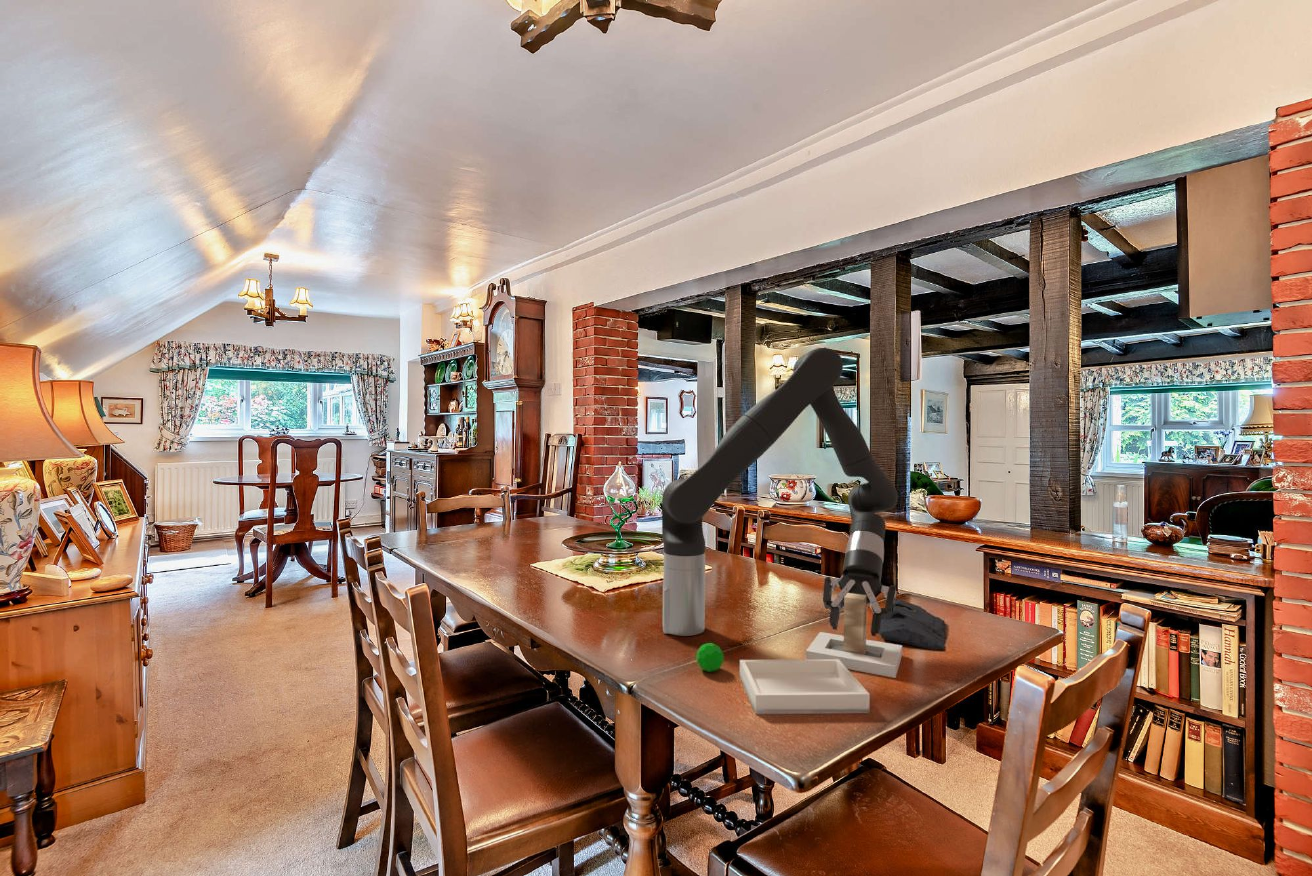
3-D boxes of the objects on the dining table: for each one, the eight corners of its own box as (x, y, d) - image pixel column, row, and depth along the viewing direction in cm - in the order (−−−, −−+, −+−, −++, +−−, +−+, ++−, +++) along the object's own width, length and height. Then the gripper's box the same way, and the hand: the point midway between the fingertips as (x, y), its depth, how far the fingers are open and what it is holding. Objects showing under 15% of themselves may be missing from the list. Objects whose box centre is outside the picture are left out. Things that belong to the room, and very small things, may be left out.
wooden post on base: (828, 658, 114) (829, 595, 114) (833, 650, 118) (834, 590, 118) (877, 667, 110) (878, 602, 110) (880, 659, 114) (881, 596, 114)
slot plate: (806, 661, 113) (806, 650, 113) (819, 641, 123) (820, 631, 123) (895, 678, 105) (895, 667, 105) (902, 655, 116) (902, 645, 116)
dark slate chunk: (867, 643, 124) (867, 621, 124) (876, 614, 144) (876, 594, 144) (948, 655, 117) (948, 632, 117) (946, 623, 137) (946, 602, 137)
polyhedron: (690, 669, 108) (691, 644, 108) (708, 662, 112) (708, 637, 112) (711, 678, 105) (711, 651, 105) (728, 670, 108) (729, 644, 108)
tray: (755, 714, 91) (755, 695, 91) (739, 676, 105) (739, 659, 105) (869, 713, 92) (869, 694, 92) (838, 675, 106) (838, 659, 106)
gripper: (826, 544, 124) (812, 615, 114) (899, 551, 117) (892, 627, 107) (831, 564, 129) (818, 634, 118) (901, 572, 122) (895, 646, 112)
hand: (853, 630), depth 113 cm, fingers open, 6 cm apart
